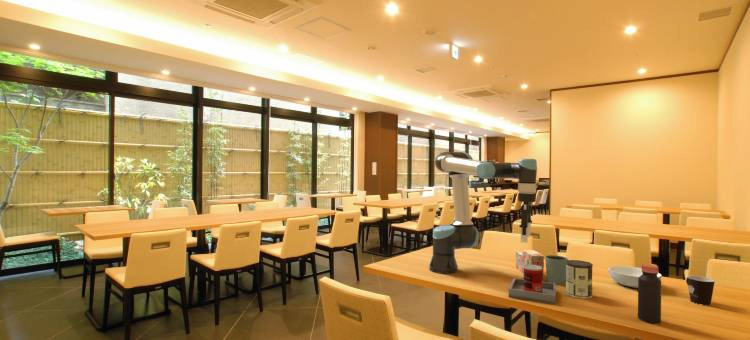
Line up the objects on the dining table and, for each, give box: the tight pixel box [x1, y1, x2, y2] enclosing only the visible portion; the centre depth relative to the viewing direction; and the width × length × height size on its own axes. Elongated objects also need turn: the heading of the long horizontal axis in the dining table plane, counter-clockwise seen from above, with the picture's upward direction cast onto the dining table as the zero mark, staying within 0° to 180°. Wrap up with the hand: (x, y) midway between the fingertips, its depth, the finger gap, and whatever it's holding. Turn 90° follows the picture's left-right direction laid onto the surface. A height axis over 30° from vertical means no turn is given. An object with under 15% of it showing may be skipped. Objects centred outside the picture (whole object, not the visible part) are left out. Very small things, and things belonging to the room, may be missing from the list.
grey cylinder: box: [544, 254, 569, 286], centre depth 181 cm, size 10×10×12 cm
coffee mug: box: [685, 275, 715, 306], centre depth 155 cm, size 12×9×10 cm
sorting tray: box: [508, 277, 557, 305], centre depth 162 cm, size 18×18×4 cm
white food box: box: [515, 249, 545, 281], centre depth 194 cm, size 21×6×12 cm, turn 179°
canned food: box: [522, 265, 544, 293], centre depth 162 cm, size 8×8×11 cm
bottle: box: [637, 263, 662, 324], centre depth 135 cm, size 7×7×20 cm
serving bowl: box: [608, 265, 662, 289], centre depth 176 cm, size 21×21×7 cm
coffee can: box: [565, 259, 594, 300], centre depth 162 cm, size 10×10×14 cm
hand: (525, 239), depth 167 cm, fingers open, 13 cm apart
